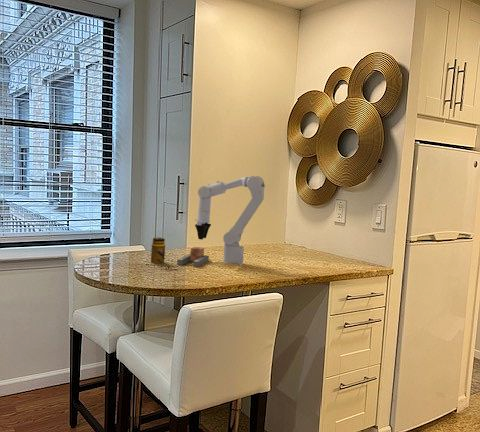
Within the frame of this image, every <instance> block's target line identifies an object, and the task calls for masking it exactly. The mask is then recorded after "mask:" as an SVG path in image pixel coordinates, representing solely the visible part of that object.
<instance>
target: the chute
mask: <svg viewBox="0 0 480 432" xmlns="http://www.w3.org/2000/svg"><path fill="white" fill-rule="evenodd" d="M190 256H191V253H188V254H186V255H184V256H182V257H179V258H177V261H176V265H177V266H186V267H188V266H189V267H193V268H199V267H201V266H202V265H203V264H205V263H207V262H208V261H209V257H210V256H209V255H208V254H204V256H202V257H201V258H199V259H197V260H195V261H190Z"/></svg>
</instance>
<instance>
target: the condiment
mask: <svg viewBox="0 0 480 432" xmlns="http://www.w3.org/2000/svg"><path fill="white" fill-rule="evenodd" d="M165 242H166V241H165V238H164V237H153V238H152V243H151V248H150V249H151V250H150V251H151V254H150V263H151V264H150V265H149V263H146V264H145V266H152V267H153V266H154V267H156V265H157V267H160V265H161V264H162V265H163V264H164V263H165V257H166V256H165V253H166V243H165Z"/></svg>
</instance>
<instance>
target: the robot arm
mask: <svg viewBox="0 0 480 432" xmlns="http://www.w3.org/2000/svg"><path fill="white" fill-rule="evenodd" d="M238 187H244V188H247V189H248V190H249V192H250V194H251V199H250V200H249V202H248V203H247V205H246V207H245V208H244V210H243V212H241V214H240V216H239V217H238V218H237V220H236V222H235V223H234V225H233V226H232V227H231V228H230V229H229V231H227V232H226V233H224V235H223V237H222V239H223V242H224V243H223V244H224V245H223V259H222V261H223V262H224V263H227V264H236V265H238V266H241V265H243V264H244V254H245V252H244V251H245V249H244V246H243V245H240V243H239V242H240V241H241V238H242V234H243V233H244V230H245V228H246V226H247V225H248V224H249V222H250V221H251V219H252V217H254V214H255V213H256V211H257V210H258V208H259V207H260V206H261V205H262V203H263V201H264V198H265V187H266V184H265V182H264V179H263V178H262V177H261V176H259V175H257V176H255V175H253V176H252V175H251V176H245V177H240V178H237V179H235V180H231V181H228V182H223V181H219V180H218V181H216V182H215V183H212V184H210V183H208V184H207V185H206V186H205V185H203V186H201V187H199V188H198V191H197V194H198V197H199V199H198V212H197V218H196V219H195V220H194V221H196V224H194V227H195V228H196V232H197V238H198V240H204V239H207V236H208V232H209V229H210V227H211V226H212V224H211V223H210V221H211V219H210V218H211V217H210V216H211V206H212V205H211V201H212V197H215V196H219V195H222V194H223V195H224V194H226V193H227V191H228V190H231V189H235V188H238Z"/></svg>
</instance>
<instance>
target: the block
mask: <svg viewBox="0 0 480 432" xmlns="http://www.w3.org/2000/svg"><path fill="white" fill-rule="evenodd" d="M204 253H205V247H199V246H193V247H191V248H190V254H191V256H190V262H191V261H195V260H197V259H199V258H201V257H202V256H204V255H205V254H204Z"/></svg>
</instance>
